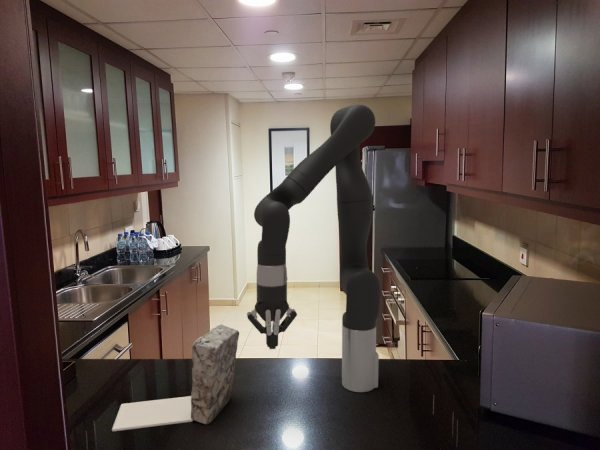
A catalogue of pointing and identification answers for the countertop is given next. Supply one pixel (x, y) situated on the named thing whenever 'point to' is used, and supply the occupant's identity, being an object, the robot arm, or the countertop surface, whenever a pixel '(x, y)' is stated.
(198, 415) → the stone block
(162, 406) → the mat
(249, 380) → the countertop surface
